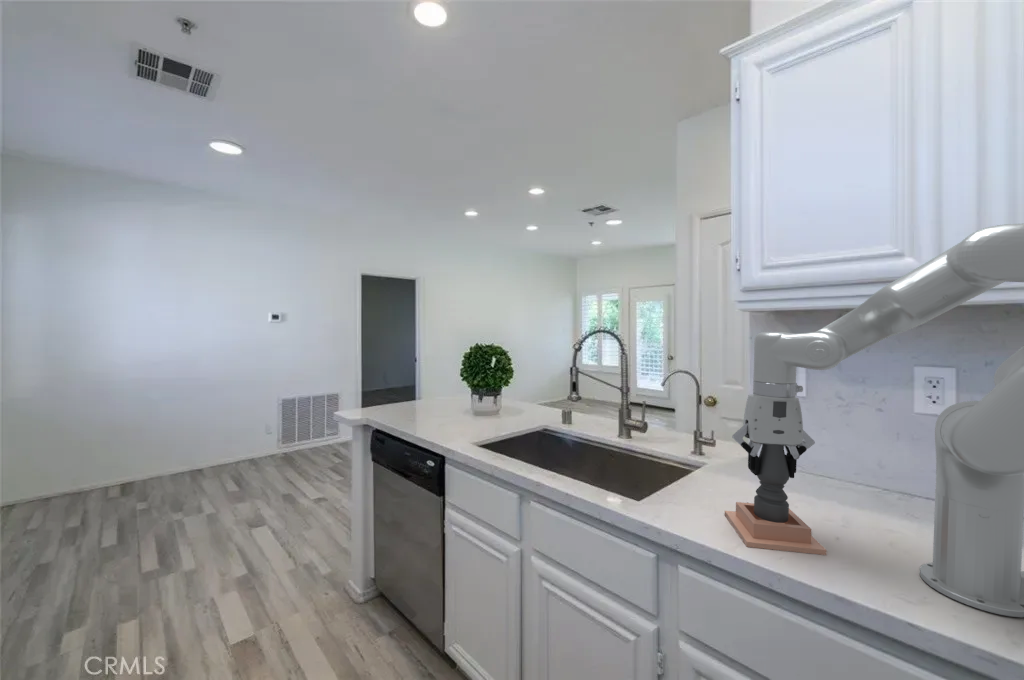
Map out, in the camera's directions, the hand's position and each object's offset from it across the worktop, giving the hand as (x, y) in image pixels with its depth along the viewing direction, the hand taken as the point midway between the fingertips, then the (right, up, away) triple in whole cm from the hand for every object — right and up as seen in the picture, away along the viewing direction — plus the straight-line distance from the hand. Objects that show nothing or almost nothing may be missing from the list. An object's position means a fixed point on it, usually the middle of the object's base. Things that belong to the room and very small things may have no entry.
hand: (771, 473), depth 85 cm
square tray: (0, -13, 0) cm, 13 cm away
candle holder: (0, -9, 0) cm, 9 cm away
